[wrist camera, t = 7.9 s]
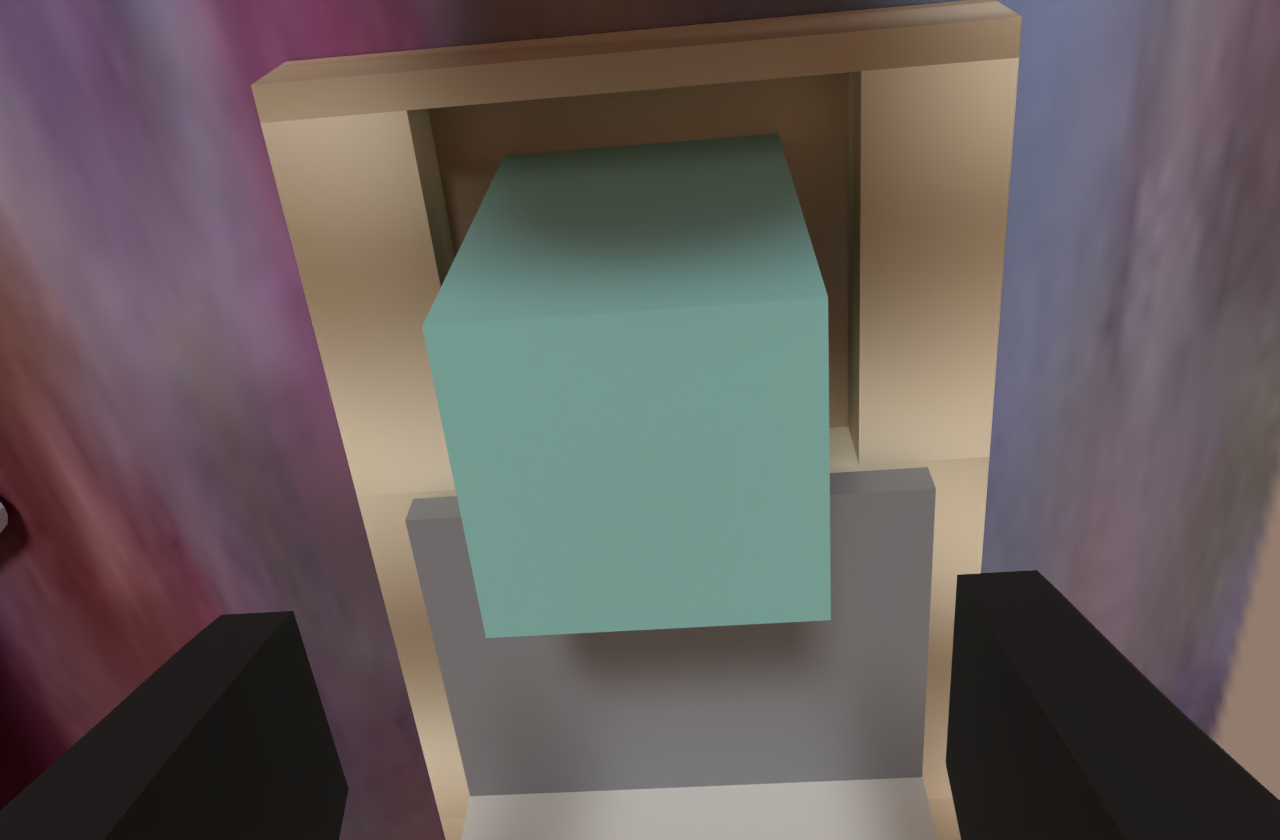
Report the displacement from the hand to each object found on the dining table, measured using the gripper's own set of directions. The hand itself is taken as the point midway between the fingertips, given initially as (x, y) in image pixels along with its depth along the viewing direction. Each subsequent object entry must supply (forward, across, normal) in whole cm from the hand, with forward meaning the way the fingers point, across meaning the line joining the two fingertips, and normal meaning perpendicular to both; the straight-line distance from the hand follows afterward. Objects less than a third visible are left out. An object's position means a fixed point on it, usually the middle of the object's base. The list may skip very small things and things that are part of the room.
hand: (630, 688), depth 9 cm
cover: (+8, 0, +6) cm, 10 cm away
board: (+9, 0, +8) cm, 13 cm away
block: (+9, 0, 0) cm, 9 cm away
